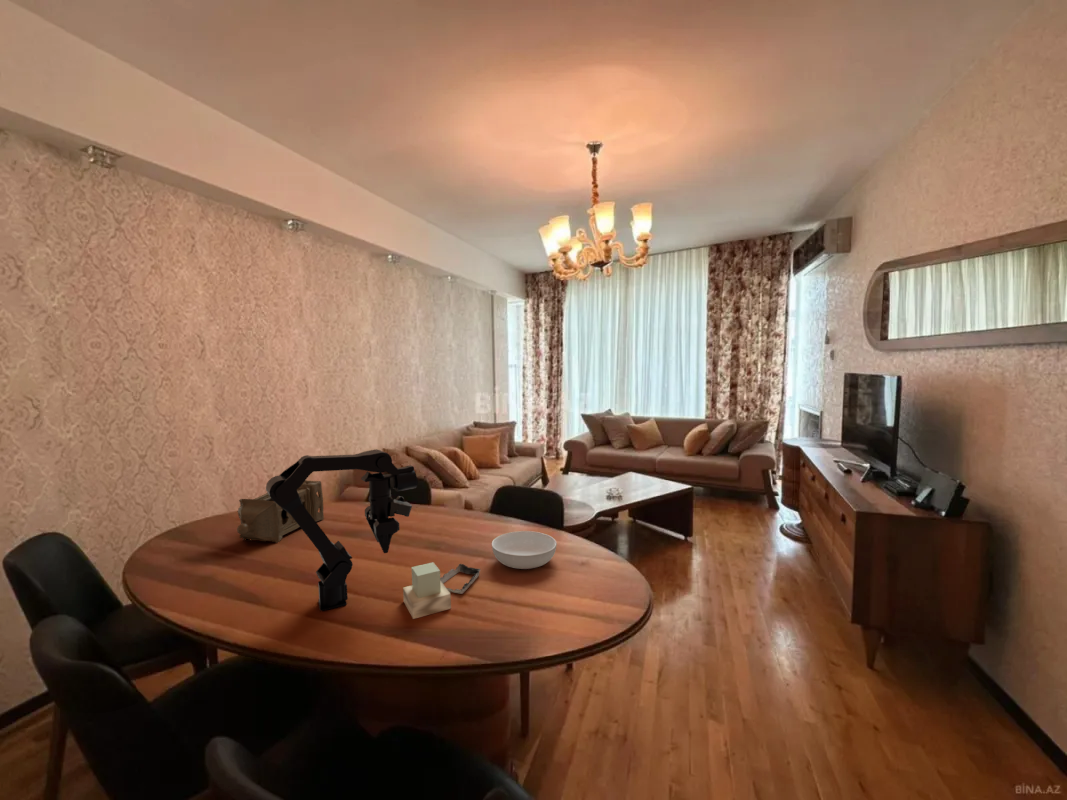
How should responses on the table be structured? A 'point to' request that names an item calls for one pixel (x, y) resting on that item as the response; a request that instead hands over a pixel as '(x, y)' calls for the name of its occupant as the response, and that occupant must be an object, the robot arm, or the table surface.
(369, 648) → the table surface
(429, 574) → the green cube
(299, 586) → the table surface
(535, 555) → the serving bowl
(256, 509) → the toy tower
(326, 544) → the robot arm
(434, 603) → the beige square block
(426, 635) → the table surface
